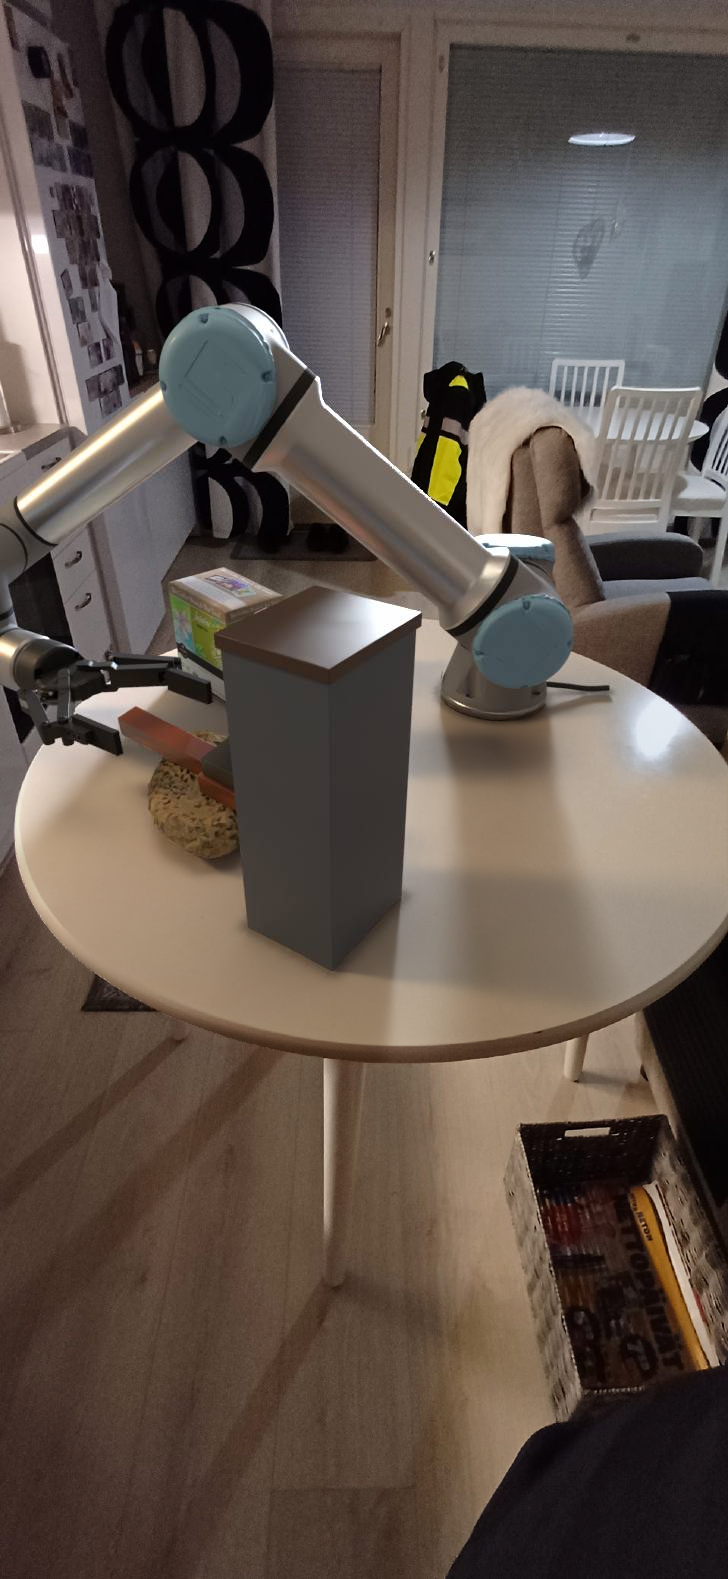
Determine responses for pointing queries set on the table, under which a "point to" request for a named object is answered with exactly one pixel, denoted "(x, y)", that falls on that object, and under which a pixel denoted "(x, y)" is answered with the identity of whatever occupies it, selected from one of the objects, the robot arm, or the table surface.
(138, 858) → the table surface
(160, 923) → the table surface
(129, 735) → the brush
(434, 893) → the table surface
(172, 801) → the sponge
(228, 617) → the tea box
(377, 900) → the pedestal
